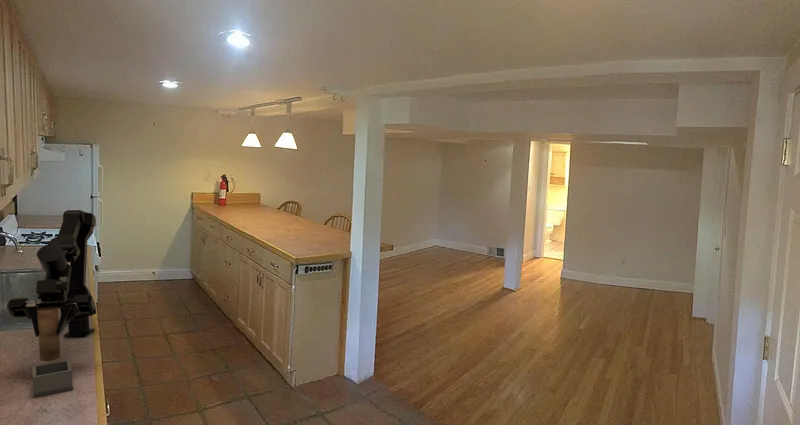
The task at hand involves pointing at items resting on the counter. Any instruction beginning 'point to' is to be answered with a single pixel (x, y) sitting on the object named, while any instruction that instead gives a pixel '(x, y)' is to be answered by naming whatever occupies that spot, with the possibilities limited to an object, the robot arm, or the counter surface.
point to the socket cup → (52, 378)
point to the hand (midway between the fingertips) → (47, 335)
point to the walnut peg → (48, 333)
